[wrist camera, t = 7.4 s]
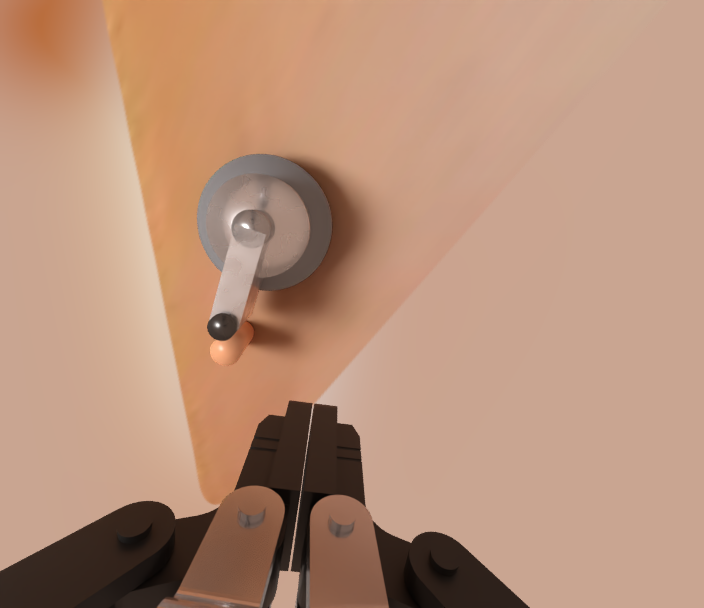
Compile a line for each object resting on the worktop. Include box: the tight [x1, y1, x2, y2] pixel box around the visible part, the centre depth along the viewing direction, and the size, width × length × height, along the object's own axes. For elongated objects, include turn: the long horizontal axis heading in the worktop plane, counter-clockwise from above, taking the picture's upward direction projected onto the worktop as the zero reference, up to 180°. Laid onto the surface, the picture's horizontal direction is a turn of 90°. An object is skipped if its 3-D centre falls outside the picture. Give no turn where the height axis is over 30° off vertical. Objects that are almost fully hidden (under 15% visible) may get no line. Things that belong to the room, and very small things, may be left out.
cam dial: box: [206, 173, 311, 341], centre depth 25 cm, size 11×7×4 cm, turn 160°
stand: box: [197, 154, 332, 366], centre depth 27 cm, size 15×10×4 cm, turn 2°
